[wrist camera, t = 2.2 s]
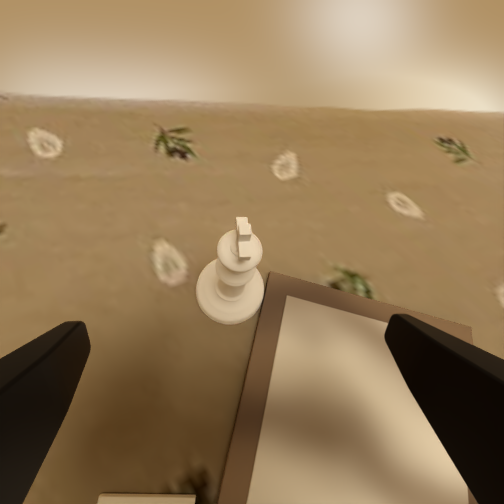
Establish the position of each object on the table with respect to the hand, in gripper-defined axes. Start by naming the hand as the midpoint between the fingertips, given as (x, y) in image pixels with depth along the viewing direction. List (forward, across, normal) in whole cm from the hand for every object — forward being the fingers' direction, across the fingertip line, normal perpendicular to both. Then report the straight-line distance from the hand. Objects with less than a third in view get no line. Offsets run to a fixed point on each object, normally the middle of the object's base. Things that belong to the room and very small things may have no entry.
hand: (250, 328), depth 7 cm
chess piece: (+10, 0, +5) cm, 11 cm away
